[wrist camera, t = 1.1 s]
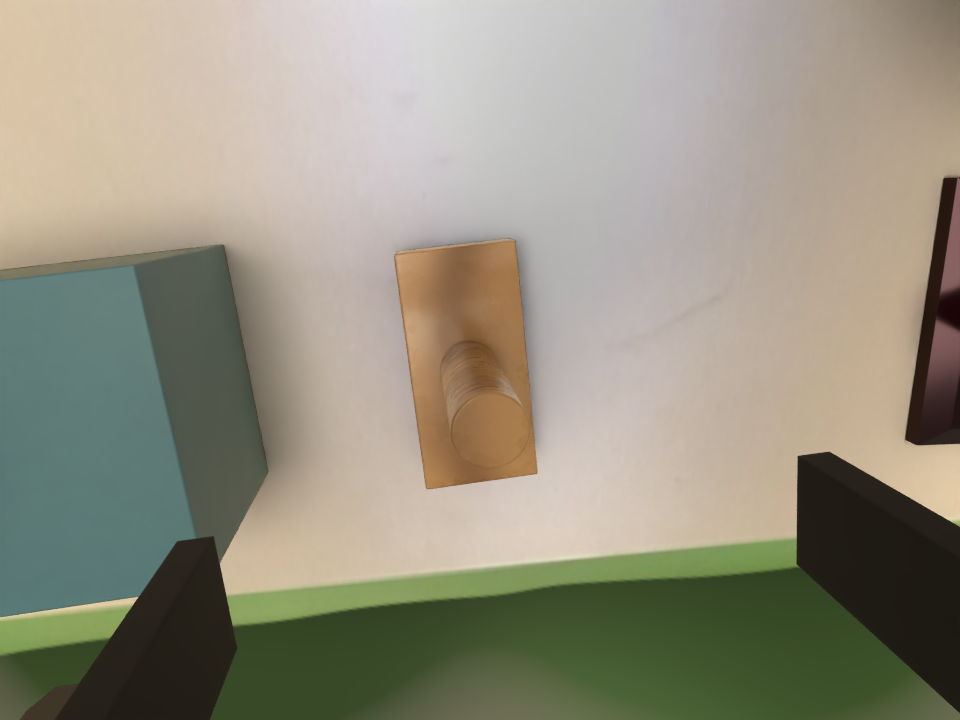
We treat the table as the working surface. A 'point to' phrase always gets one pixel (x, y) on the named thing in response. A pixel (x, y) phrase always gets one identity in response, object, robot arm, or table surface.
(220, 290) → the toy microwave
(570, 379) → the table surface
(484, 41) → the table surface
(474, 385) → the stamp
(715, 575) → the table surface
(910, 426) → the lizard figurine
